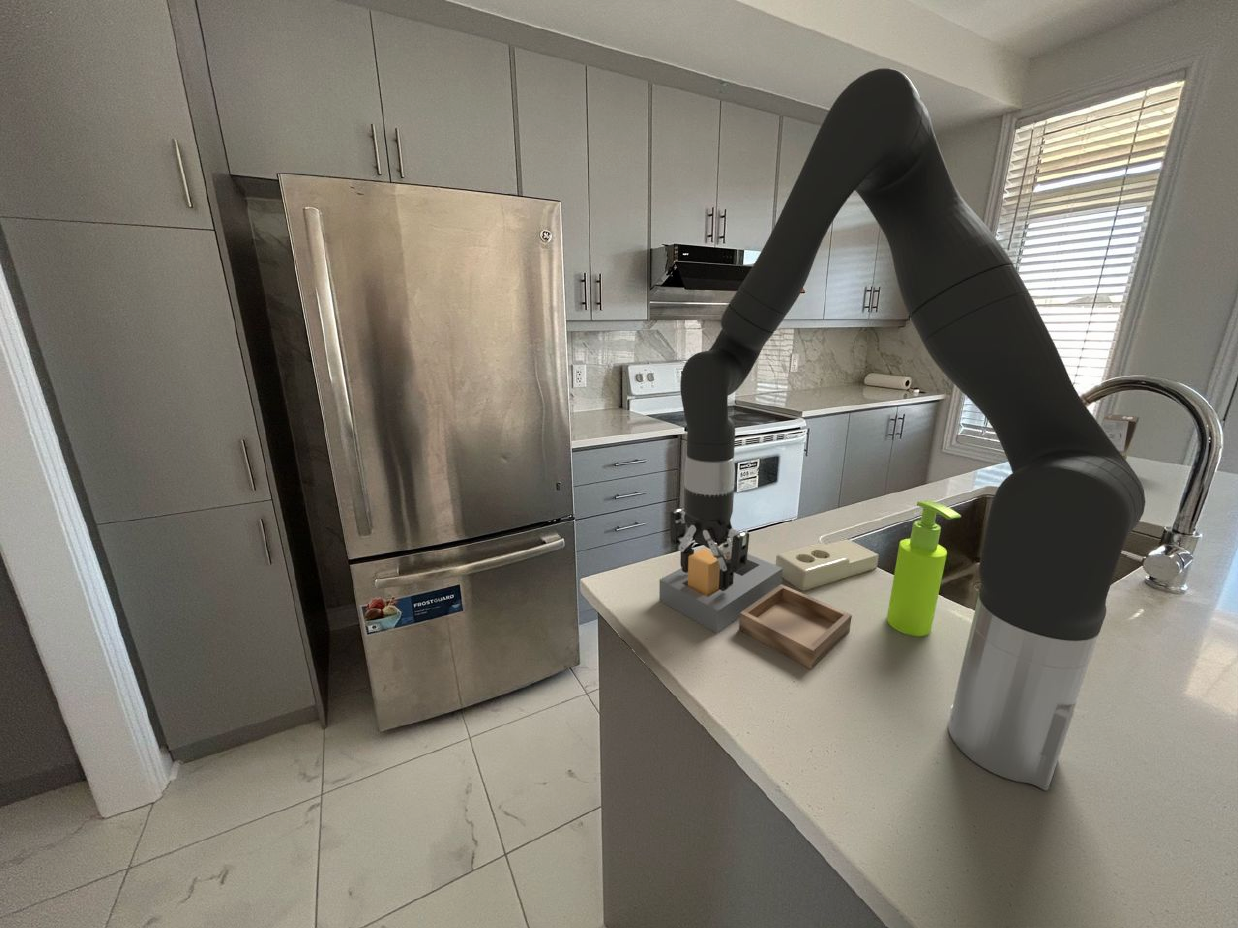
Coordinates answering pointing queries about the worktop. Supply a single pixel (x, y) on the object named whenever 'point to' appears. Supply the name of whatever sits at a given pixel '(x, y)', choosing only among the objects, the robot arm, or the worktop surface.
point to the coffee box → (1120, 431)
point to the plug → (703, 572)
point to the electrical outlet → (825, 563)
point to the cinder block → (721, 594)
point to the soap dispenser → (919, 573)
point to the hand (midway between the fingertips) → (705, 579)
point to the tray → (795, 624)
